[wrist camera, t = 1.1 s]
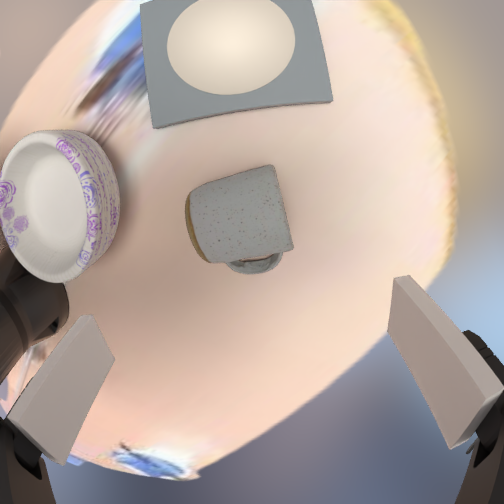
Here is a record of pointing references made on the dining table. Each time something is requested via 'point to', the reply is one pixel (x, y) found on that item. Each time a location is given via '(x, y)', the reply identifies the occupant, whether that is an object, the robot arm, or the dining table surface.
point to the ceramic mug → (239, 220)
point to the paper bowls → (58, 203)
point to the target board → (230, 57)
